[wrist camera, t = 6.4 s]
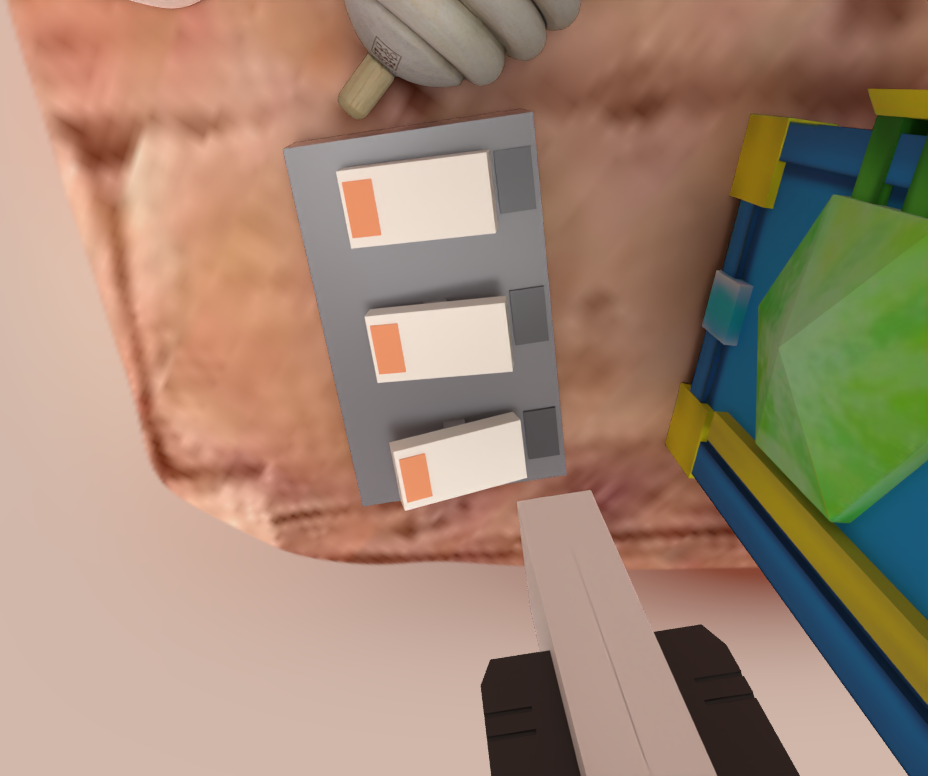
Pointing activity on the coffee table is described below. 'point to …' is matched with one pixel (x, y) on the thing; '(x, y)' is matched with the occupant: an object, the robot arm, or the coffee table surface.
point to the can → (168, 3)
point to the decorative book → (828, 395)
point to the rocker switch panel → (433, 293)
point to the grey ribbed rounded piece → (444, 42)
